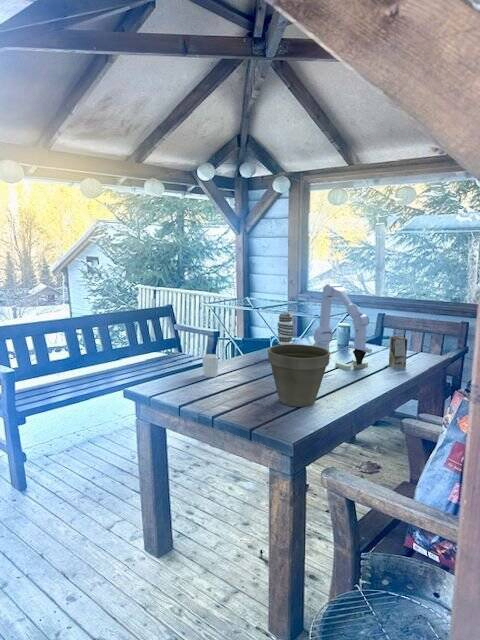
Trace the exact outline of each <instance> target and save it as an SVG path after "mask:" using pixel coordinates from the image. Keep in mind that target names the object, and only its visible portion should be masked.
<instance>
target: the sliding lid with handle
mask: <svg viewBox="0 0 480 640" xmlns="http://www.w3.org/2000/svg"><path fill="white" fill-rule="evenodd" d="M365 368H366V367H365V363H362V364H359V365H358V364H355V365H353V369H352V370H353V371H356V370H360V369H365ZM362 374H364V375H366V374H367V372H362Z"/></svg>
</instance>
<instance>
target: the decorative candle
mask: <svg viewBox="0 0 480 640" xmlns="http://www.w3.org/2000/svg"><path fill="white" fill-rule="evenodd" d="M277 327H278V328H277V333H278V334H277V337H278V344H277V345H286V344H293V339H292V338H293V333H294V332H293V330H294V328H293V327H294V325H293V315H292V314H291V313H290V312H281V313H280V314H279V315H278V322H277Z"/></svg>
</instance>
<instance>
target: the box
mask: <svg viewBox="0 0 480 640" xmlns="http://www.w3.org/2000/svg"><path fill="white" fill-rule="evenodd" d="M351 361H352V362H351V363H344V362H341V361H338V362H335V367H336V368H339V369H341V370H345V371H350V370H351V371H352V370H353V365H355V364H357V362H356V358H355V359H351ZM362 363H365V367H364V368H367V367H369V362H366V361H364V360H362Z"/></svg>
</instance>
